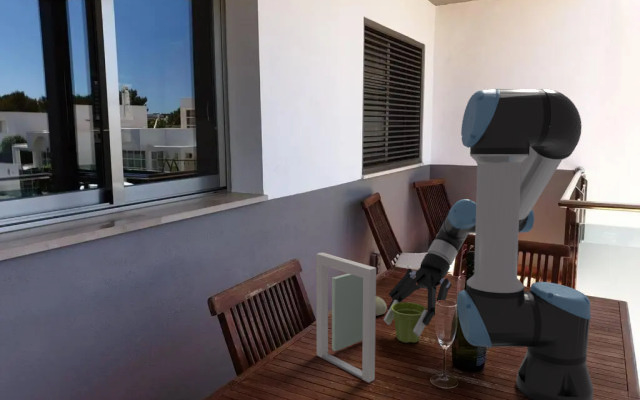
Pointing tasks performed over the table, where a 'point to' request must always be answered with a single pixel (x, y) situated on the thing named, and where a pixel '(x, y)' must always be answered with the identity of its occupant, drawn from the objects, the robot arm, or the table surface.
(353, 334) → the door
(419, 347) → the table surface
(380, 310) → the sea urchin shell
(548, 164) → the robot arm
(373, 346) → the door frame
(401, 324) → the plant pot
